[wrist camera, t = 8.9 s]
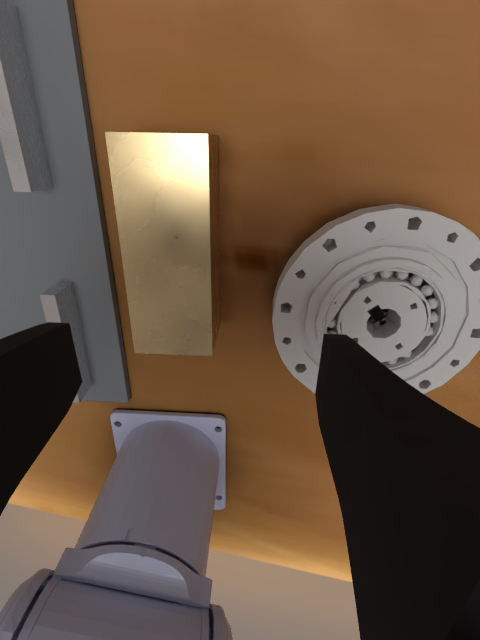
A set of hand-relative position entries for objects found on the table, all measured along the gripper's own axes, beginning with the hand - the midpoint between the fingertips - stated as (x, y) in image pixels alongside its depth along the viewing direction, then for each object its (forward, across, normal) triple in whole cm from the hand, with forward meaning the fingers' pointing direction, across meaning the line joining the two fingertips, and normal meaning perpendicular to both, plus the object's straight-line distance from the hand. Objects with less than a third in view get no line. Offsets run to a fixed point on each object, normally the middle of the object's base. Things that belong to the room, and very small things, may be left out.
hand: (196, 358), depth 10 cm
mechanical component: (+8, -12, -2) cm, 14 cm away
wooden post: (+11, +2, -1) cm, 11 cm away
